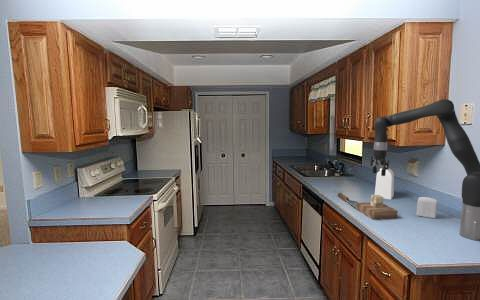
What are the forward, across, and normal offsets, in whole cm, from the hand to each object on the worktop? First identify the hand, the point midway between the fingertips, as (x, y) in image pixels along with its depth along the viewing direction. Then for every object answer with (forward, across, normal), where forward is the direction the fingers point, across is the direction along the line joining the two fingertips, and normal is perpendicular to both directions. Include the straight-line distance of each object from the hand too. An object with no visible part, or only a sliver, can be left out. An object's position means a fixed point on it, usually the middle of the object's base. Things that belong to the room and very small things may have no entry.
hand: (378, 174), depth 175 cm
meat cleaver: (+27, +24, +2) cm, 36 cm away
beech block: (+21, 0, 0) cm, 21 cm away
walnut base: (+26, 0, 0) cm, 26 cm away
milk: (+26, +35, -31) cm, 54 cm away
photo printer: (+26, -9, -28) cm, 39 cm away
